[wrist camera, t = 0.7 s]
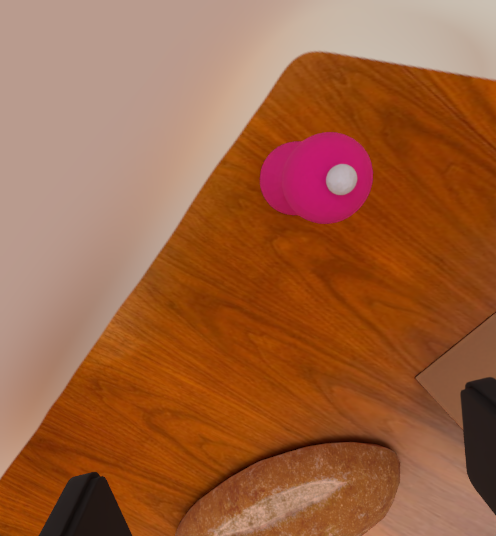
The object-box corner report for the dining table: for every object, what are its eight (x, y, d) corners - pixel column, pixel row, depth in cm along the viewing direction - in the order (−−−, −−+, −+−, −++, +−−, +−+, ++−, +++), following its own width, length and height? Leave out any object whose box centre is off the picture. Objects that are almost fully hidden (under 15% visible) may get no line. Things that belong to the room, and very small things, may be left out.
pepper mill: (244, 189, 38) (257, 200, 19) (279, 132, 37) (332, 80, 17) (296, 222, 39) (358, 265, 20) (332, 169, 38) (435, 159, 19)
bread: (150, 500, 49) (132, 568, 40) (372, 404, 46) (404, 455, 38) (205, 575, 53) (200, 651, 45) (411, 492, 51) (448, 555, 42)
